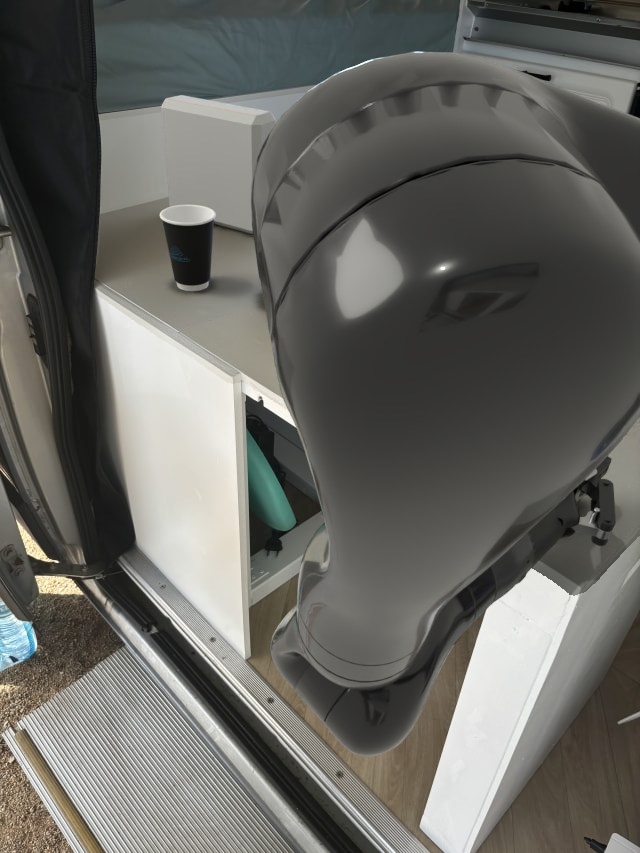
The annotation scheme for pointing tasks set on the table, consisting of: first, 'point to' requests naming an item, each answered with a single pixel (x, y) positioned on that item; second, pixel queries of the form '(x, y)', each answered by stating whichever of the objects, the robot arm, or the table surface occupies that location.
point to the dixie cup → (189, 244)
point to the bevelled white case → (213, 155)
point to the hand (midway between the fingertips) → (587, 449)
